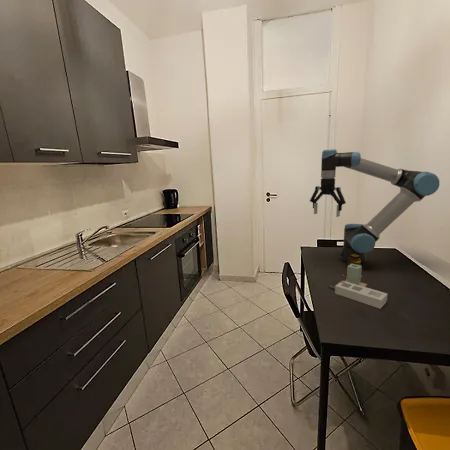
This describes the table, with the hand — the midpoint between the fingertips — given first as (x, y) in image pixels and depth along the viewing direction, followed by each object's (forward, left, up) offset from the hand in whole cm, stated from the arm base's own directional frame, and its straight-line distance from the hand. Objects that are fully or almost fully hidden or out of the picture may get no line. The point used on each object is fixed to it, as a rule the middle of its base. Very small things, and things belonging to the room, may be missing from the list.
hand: (326, 215), depth 151 cm
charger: (+14, +23, -31) cm, 41 cm away
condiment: (+3, +18, -32) cm, 37 cm away
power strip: (+24, +27, -32) cm, 48 cm away
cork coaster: (+14, +23, -32) cm, 42 cm away
